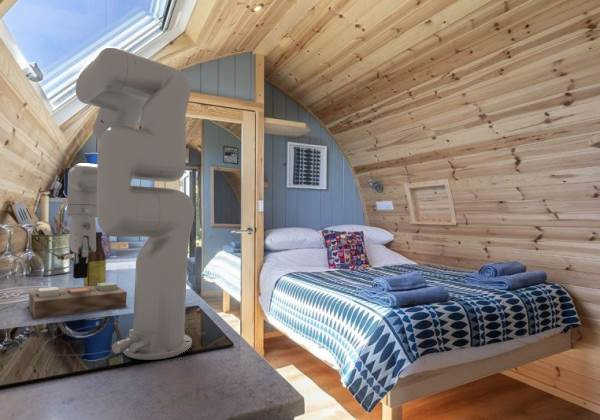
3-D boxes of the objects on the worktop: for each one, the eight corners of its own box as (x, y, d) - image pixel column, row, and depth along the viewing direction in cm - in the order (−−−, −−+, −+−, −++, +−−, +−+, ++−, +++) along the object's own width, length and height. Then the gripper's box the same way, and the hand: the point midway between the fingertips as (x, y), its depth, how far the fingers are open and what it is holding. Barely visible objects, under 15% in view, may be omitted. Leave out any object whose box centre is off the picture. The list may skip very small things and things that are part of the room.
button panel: (112, 296, 112) (113, 283, 112) (126, 306, 102) (126, 291, 102) (28, 306, 98) (29, 291, 98) (34, 318, 88) (35, 301, 88)
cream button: (56, 297, 98) (56, 286, 98) (58, 300, 95) (59, 289, 95) (37, 299, 96) (38, 288, 96) (39, 302, 93) (40, 291, 93)
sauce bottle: (109, 291, 120) (112, 231, 120) (97, 295, 113) (99, 232, 114) (91, 290, 120) (93, 230, 121) (77, 294, 114) (80, 231, 114)
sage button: (112, 292, 108) (112, 282, 108) (116, 294, 105) (116, 284, 105) (96, 293, 105) (97, 283, 105) (100, 296, 102) (100, 285, 102)
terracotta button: (85, 298, 103) (86, 287, 103) (88, 301, 100) (89, 290, 100) (68, 300, 100) (68, 289, 100) (71, 303, 97) (71, 292, 97)
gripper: (104, 211, 97) (102, 280, 97) (91, 212, 109) (89, 273, 108) (72, 210, 92) (69, 282, 92) (62, 211, 104) (59, 275, 103)
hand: (80, 277), depth 100 cm, fingers closed
